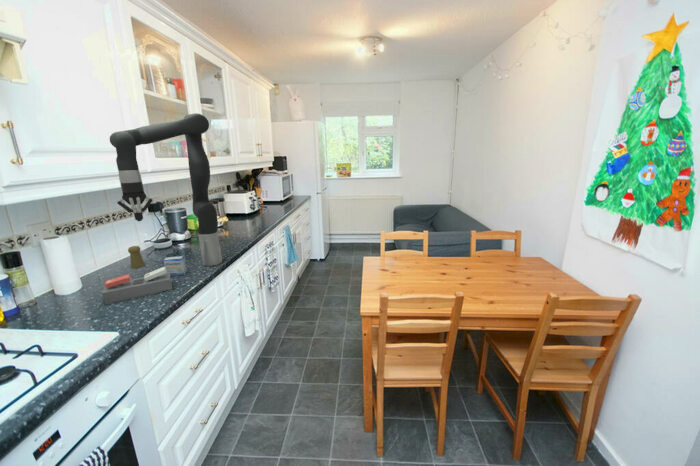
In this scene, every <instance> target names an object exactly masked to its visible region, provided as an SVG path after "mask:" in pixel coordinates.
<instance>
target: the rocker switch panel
mask: <svg viewBox="0 0 700 466" xmlns="http://www.w3.org/2000/svg"><path fill="white" fill-rule="evenodd" d="M171 277H172V276H170V272H169V273H165V274H162V275H160V276H158V277H155V278H153V279H151V280H148V281H146V280H145V279H144V276H143V277H137V278H132V279H130V281H128V282H125V283H122V284H118V285H115V286H112V287H109V288H106V287H105V286H104V288H103V291H102V293H101V294H102V298H103V301H104V305H109V304H113V303H114V304H115V303H118V302H123V301H127V300H128V301H129V300H133V299H137V298H141V297H145V296H150V295H154V294H155V293H156V294H158V292H160V293H163V292H162V291H165V292H167V291H166V290H169V291H172V290H173V285H172V278H171ZM171 289H172V290H171Z"/></svg>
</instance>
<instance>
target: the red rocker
mask: <svg viewBox="0 0 700 466" xmlns="http://www.w3.org/2000/svg"><path fill="white" fill-rule="evenodd" d="M131 277H132V276H131V274H130V273H128V274H124V275H121V276H118V277H115V278H112V279H111V278H110V279H108V280H106V281H105V283H104V288H105V287H106V288H109V287H112V286H115V285H118V284H122V283H125V282H128V281H130V280H132V279H131Z"/></svg>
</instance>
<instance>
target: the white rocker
mask: <svg viewBox="0 0 700 466" xmlns="http://www.w3.org/2000/svg"><path fill="white" fill-rule="evenodd" d="M165 273H166V268H165V266H162V267H160V268H157V269H155V270H152V271H150V272H147V273H146V274H144V276H143V277H144V279H145V280H146V281H148V280H151V279H153V278H155V277H158V276H160V275H162V274H165Z"/></svg>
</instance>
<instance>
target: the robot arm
mask: <svg viewBox="0 0 700 466" xmlns="http://www.w3.org/2000/svg"><path fill="white" fill-rule="evenodd" d="M209 129H210V123H209V120H208V118H207V117H206V116H204V115H203V114H201V113H191V114H186V115H185V116H184V117H183V118H182V119H178V120H175V121H174V120H173V121H168V122H162V123H155V124H148V125H145V126H140V127H137V128H134V129H126V130H121V131H114V132H113V133H111V135H110V136H109V143H110V144H111V145H112V146H113V147H114V148H115V150H116V151H115V152H116V158H115V162H116V167H117V170H118V180H119V183H120V187H121V193H122V195H121V199H120V200H118V201H117V202H116V203H117V205H119V206H120V207H121V208H123V209H124V210H125V211H126V212H128V213H133V215H134V219H135V221H137V222H142V220H144V215H143V212H145V211H146V210H148V208H149V206H150V205H151V203H152V202H153V198H152V197H148V196H147V194H146V193H145V190H144V184H143V179H142V175H141V173H140V169H139V163H138V160H137V146H141V145H148V144H149V145H150V144H153V143H157V142H161V141H165V140H168V139H172V138H176V137H179V136H180V137H181V136H184V137H185V141H186V149H187V152H186V153H187V160H188V161H187V162H188V171H189V178H190V184H191V190H192V212H193V213H192V214H193V215H194V217H196V218H197V221H198V228H197V235H198V241H199V247H200V253H201V260H202V265H203V266H204V267H205V266H206V267H213V265H214V266H218V265H219V264H222V263H223V256H222V249H221V246H220V245H221V244H220V240H219V239H220V238H219V233H218V225H219V223H218V213H217V209H216V207H215V205H213V203H210V199H209V186H210V183H211V182H210V181H211V169H210V168H211V167H210V161H209V158H208V156H207V154H206V151H205V149H204V145H203V136H202V135H203V134H205V133H206V132H207V131H208V130H209ZM144 202H146V203H145V204H144V206H143V207H142V204H143V203H144ZM127 204H128V205H130V206H131V207H129V206H128V205H127Z"/></svg>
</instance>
